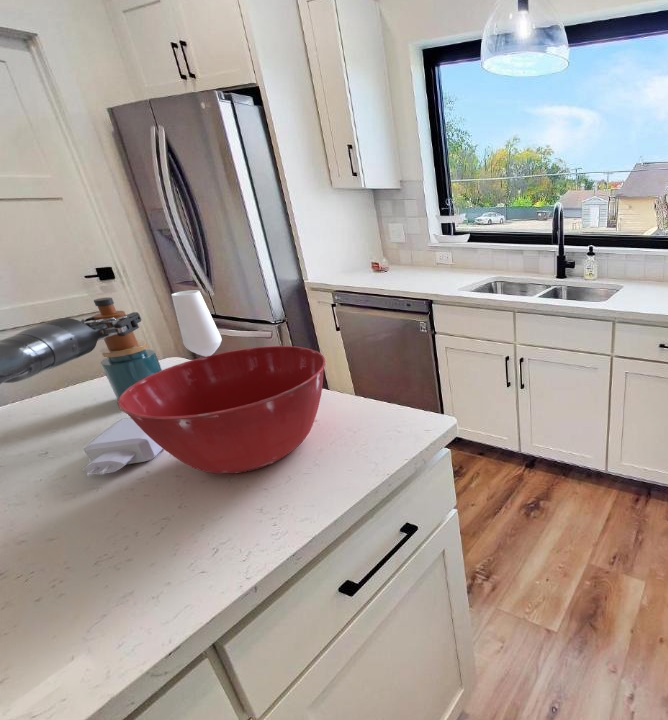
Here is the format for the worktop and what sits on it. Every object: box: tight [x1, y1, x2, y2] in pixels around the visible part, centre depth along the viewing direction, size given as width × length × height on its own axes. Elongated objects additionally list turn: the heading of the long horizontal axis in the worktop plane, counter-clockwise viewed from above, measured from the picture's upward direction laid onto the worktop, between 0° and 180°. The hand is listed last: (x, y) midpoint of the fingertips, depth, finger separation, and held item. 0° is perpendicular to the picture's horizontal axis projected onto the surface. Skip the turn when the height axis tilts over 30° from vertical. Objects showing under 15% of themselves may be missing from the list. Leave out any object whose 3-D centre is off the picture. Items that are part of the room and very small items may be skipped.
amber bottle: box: [93, 296, 138, 351], centre depth 89 cm, size 5×5×11 cm
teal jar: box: [99, 340, 163, 401], centre depth 94 cm, size 9×9×12 cm
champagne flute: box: [171, 289, 222, 357], centre depth 93 cm, size 7×7×24 cm
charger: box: [82, 417, 164, 477], centre depth 73 cm, size 5×9×15 cm
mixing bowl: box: [117, 345, 326, 474], centre depth 73 cm, size 28×28×16 cm
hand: (120, 317), depth 91 cm, fingers open, 6 cm apart
